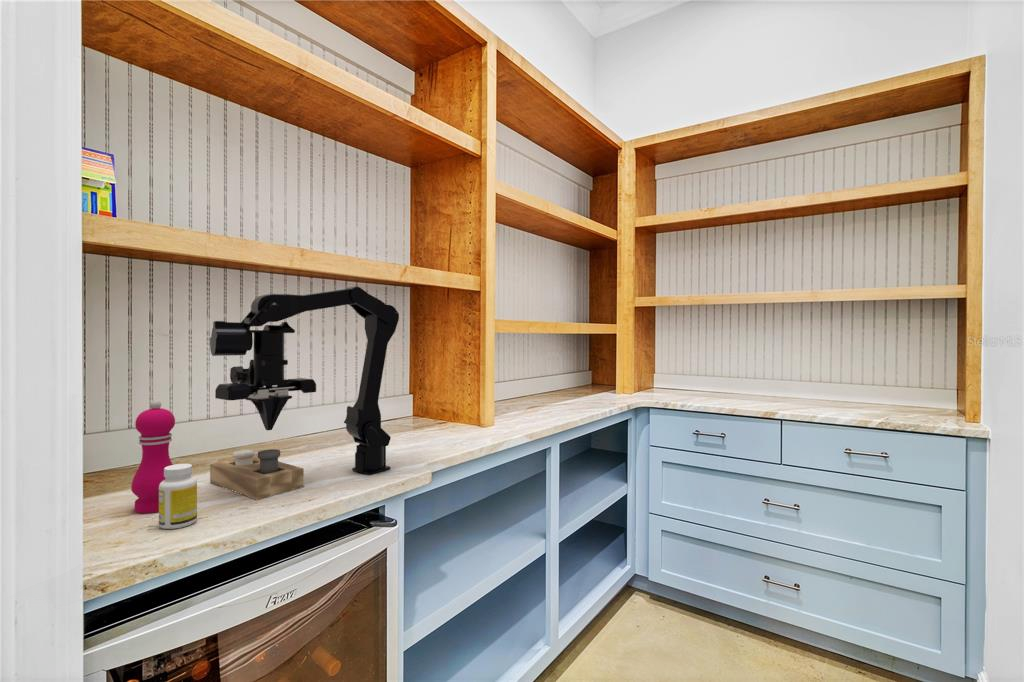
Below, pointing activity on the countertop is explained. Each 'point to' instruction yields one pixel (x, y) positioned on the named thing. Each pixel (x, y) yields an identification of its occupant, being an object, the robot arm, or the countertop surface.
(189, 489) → the supplement bottle
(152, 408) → the pepper mill
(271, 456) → the charcoal plug
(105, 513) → the countertop surface
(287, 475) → the oak socket block
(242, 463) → the white plug
